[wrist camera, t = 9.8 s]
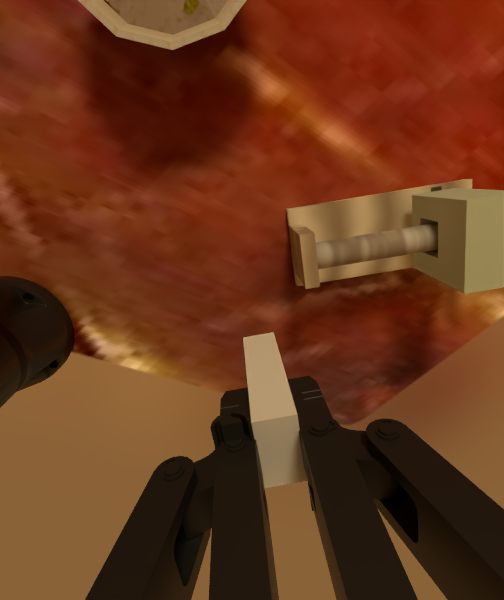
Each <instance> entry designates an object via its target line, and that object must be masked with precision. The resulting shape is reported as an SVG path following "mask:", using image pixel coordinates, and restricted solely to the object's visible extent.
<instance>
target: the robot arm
mask: <svg viewBox="0 0 504 600" xmlns="http://www.w3.org/2000/svg"><path fill="white" fill-rule="evenodd" d="M73 341H74V332H73V326H72V323H71V320H70V317H69V315H68V313H67V311H66V309H65V308H64V306H63V305H62V304H61V303H60V301H59V300H58V299H57V298H56V297H55V296H54V295H53V294H52V293H50V292H49V291H48V290H46V289H45V288H43V287H42V286H40V285H38V284H36V283H34V282H32V281H29V280H26V279H22V278H18V277H10V276H2V277H0V407H1V406H2V405H3V404H4V403H5V402H6V401H7V400H8V399H9V398H10V397H11V396H12V395H13V394H14V393H15V392H17V391H19V390H22V389H24V388H27V387H30V386H32V385H34V384H37V383H39V382H42V381H44V380H45V379H47V378H49V377H50V376H51V375H53V374H54V373H55V372H56V371H57V370H58V369H59V368H60V367H61V366H62V365H63V364H64V363H65V361H66V360H67V358H68V357H69V355H70V353H71V350H72V347H73ZM243 341H244V351H245V362H246V372H247V383H248V388H242V389H237V390H231V391H226V392H225V394H224V395H223V397H222V398H221V409H220V416H218V417H217V418H216V419H215V420H214V421H213V422H212V424H211V427H210V428H211V432H212V436H213V440H214V444H215V450H214V451H213V452H212V453H211V454H210V455H209V456H207V457H205V458H203V459H201V460H199V461H197V462H194V463H193V461H192V460H191V459H189V458H188V457H184V456H178V457H172V458H170V459H168V460H166V461H164V462H163V463H161V464H160V465H159V466H158V467H157V468H156V470H155V471H154V472H153V474H152V476H151V478H150V480H149V482H148V483H147V485H146V487H145V489H144V491H143V493H142V495H141V497H140V498H139V500H138V502H137V504H136V506H135V508H134V510H133V512H132V513H131V515H130V517H129V519H128V521H127V523H126V524H125V526H124V529H123V530H122V532H121V534H120V536H119V538H118V539H117V541H116V543H115V545H114V547H113V549H112V551H111V552H110V554H109V556H108V558H107V560H106V562H105V564H104V565H103V567H102V569H101V571H100V573H99V575H98V577H97V578H96V580H95V582H94V584H93V586H92V588H91V590H90V592H89V593H88V595H87V597H86V599H85V600H191V598H192V594H193V591H194V588H195V584H196V581H197V578H198V574H199V571H200V567H201V564H202V561H203V557H204V554H205V550H206V547H207V544H208V540H209V537H210V531H211V528H212V540H211V562H210V585H209V587H210V588H209V600H279V597H278V589H277V581H276V573H275V564H274V556H273V548H272V540H271V532H270V524H269V516H268V507H267V500H266V495H265V490H264V488H268V487H274V486H279V485H285V484H291V483H296V482H302V481H307V480H308V486H309V493H310V499H311V507H312V511H314V512H315V516H316V520H317V525H318V528H319V532H320V536H321V540H322V544H323V548H324V552H325V556H326V560H327V564H328V567H329V572H330V576H331V580H332V584H333V587H334V591H335V595H336V599H337V600H418V599H417V597H416V594H415V592H414V590H413V588H412V585H411V583H410V581H409V579H408V576H407V574H406V572H405V570H404V567H403V565H402V563H401V561H400V559H399V556H398V554H397V552H396V550H395V547H394V545H393V543H392V541H391V538H390V536H389V534H388V532H387V529H386V527H385V525H384V523H383V521H382V518H381V516H380V514H379V512H378V509H379V511H380V512H381V513H382V515H383V516H384V517H385V519H386V520H387V521H388V523H389V524H390V525H391V526H392V528H393V529H394V530H395V532H396V533H397V534H398V536H399V537H400V538H401V539H402V541H403V542H404V543H405V545H406V546H407V547H408V549H409V550H410V551H411V552H412V554H413V555H414V556H415V558H416V559H417V560H418V562H419V563H420V564H421V565H422V567H423V568H424V569H425V571H426V572H427V573H428V575H429V576H430V577H431V578H432V580H433V581H434V582H435V584H436V585H437V586H438V587H439V589H440V590H441V591H442V593H443V594H444V595H445V597H446V598H447V599H448V600H504V509H503V508H501V507H500V506H499V505H498V504H497V503H496V502H494V501H493V500H492V499H491V498H490V497H489V496H487V495H486V494H485V493H484V492H483V491H482V490H480V489H479V488H478V487H477V486H476V485H475V484H473V483H472V482H471V481H470V480H469V479H468V478H466V477H465V476H464V475H463V474H462V473H461V472H459V471H458V470H457V469H456V468H455V467H454V466H453V465H451V464H450V463H449V462H448V461H447V460H445V459H444V458H443V457H442V456H441V455H440V454H439V453H437V452H436V451H435V450H434V449H433V448H431V447H430V446H429V445H428V444H427V443H426V442H424V441H423V440H422V439H421V438H420V437H419V436H418V435H416V434H415V433H414V432H413V431H412V430H411V429H409V428H408V427H407V426H406V425H404V424H403V423H401V422H399V421H396V420H393V419H379V420H375V421H373V422H371V423H370V424H369V425H368V426H367V428H366V431H356V430H349V429H346V428H343V427H341V426H340V425H339V423H338V422H337V421H336V420H334V419H333V418H332V416H331V413H330V411H329V409H328V407H327V404H326V402H325V400H324V397H323V395H322V393H321V390H320V388H319V386H318V384H317V381H315V380H314V379H313V378H311V377H310V376H305V377H299V378H294V379H288V380H287V377H286V374H285V370H284V367H283V363H282V360H281V356H280V353H279V350H278V346H277V343H276V339H275V336H274V333H273V332H272V333H267V334H261V335H255V336H250V337H244V338H243ZM377 508H378V509H377Z"/></svg>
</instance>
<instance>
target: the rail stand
mask: <svg viewBox="0 0 504 600" xmlns="http://www.w3.org/2000/svg"><path fill="white" fill-rule="evenodd" d="M451 188H462V189H472V179H464V180H458V181H452V182H446V183H440V184H434V185H428V186H422V187H416V188H410V189H404V190H398V191H392V192H386V193H380V194H374V195H368V196H362V197H356V198H350V199H344V200H338V201H332V202H326V203H320V204H314V205H308V206H302V207H296V208H290V209H286V211H287V219H288V227H289V235H290V243H291V251H292V259H293V267H294V275H295V283H296V285H297V286H303V285H304V287H305V289H309V288H315V287H320V283H321V282H327V281H333V280H339V279H345V278H351V277H358V276H364V275H370V274H376V273H382V272H388V271H394V270H400V269H406V268H413V254H414V253H421V252H427V251H433V250H438V223H432V224H426V225H420V226H414V227H413V221H412V195H415V194H421V193H427V192H433V191H439V190H445V189H451Z"/></svg>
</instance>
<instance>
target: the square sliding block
mask: <svg viewBox="0 0 504 600" xmlns="http://www.w3.org/2000/svg"><path fill="white" fill-rule="evenodd" d="M412 221H413V227H414V226H420V225H426V224H432V223H438V250H433V251H427V252H421V253H414V254H413V268H415V269H417V270H419V271H420V272H422V273H424V274H426V275H428V276H430V277H432V278H434V279H436V280H438V281H440V282H442V283H444V284H446V285H448V286H450V287H452V288H454V289H456V290H458V291H460V292H462V293H464V294H466V293H472V292H478V291H484V290H491V289H497V288H503V287H504V190H484V189H462V188H451V189H445V190H439V191H433V192H427V193H421V194H415V195H412Z"/></svg>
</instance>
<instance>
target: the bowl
mask: <svg viewBox="0 0 504 600" xmlns="http://www.w3.org/2000/svg"><path fill="white" fill-rule="evenodd" d="M78 1H79V2H80V3H81V4H82V5H83V6H84V7H86V8H87V9H88V10H89V11H90V12H91V13H92V14H93V15H94V16H95V17H96V18H97V19H98V20H99V21H100V22H101V23H103V24H104V25H105V26H106V27H107V28H108V29H109V30H110V31H111V32H112V33H113V34H114V35H115V36H116V37H121V38H125V39H129V40H133V41H137V42H141V43H145V44H150V45H154V46H158V47H162V48H166V49H170V50H174V49H177V48H179V47H182V46H184V45H187V44H190V43H192V42H195V41H197V40H200V39H203V38H205V37H208V36H210V35H213V34H216V33H218V32H221V31H223V30H225V29H226V27H227V26H228V25H229V23H230V22H231V21H232V19H233V18H234V17H235V15H236V14H237V13H238V11H239V10H240V8H241V7H242V6H243V4H244V3H245V2H246V0H78Z"/></svg>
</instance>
